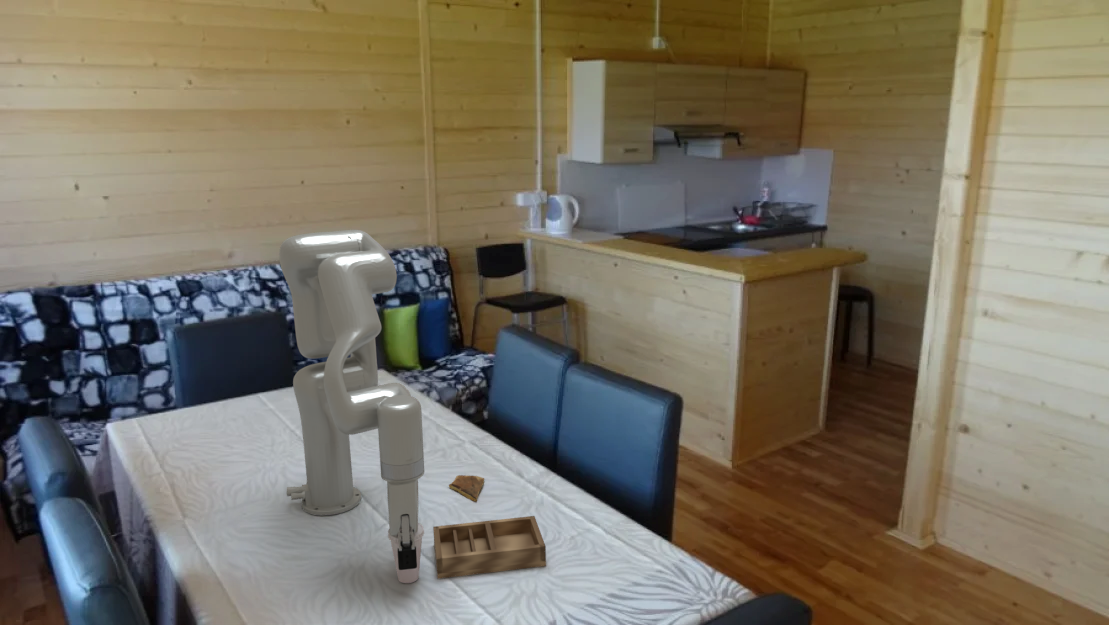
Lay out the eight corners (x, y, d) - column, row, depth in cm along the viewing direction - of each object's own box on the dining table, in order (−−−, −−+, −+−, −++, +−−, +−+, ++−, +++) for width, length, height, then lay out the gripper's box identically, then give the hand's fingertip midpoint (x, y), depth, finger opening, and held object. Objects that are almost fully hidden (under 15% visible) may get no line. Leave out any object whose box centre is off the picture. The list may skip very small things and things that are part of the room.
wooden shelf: (437, 578, 144) (436, 559, 143) (434, 545, 155) (433, 526, 154) (545, 565, 147) (545, 546, 146) (534, 533, 159) (534, 515, 158)
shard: (476, 505, 172) (476, 497, 172) (442, 503, 173) (441, 496, 173) (485, 482, 183) (485, 475, 182) (453, 481, 184) (453, 474, 183)
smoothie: (392, 568, 147) (388, 499, 143) (427, 566, 147) (424, 498, 144) (388, 588, 141) (384, 517, 137) (425, 586, 141) (421, 515, 138)
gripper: (381, 448, 146) (386, 535, 150) (379, 490, 130) (386, 587, 134) (422, 444, 147) (426, 531, 152) (426, 486, 131) (430, 582, 135)
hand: (407, 556), depth 143 cm, fingers closed on smoothie, 6 cm apart
